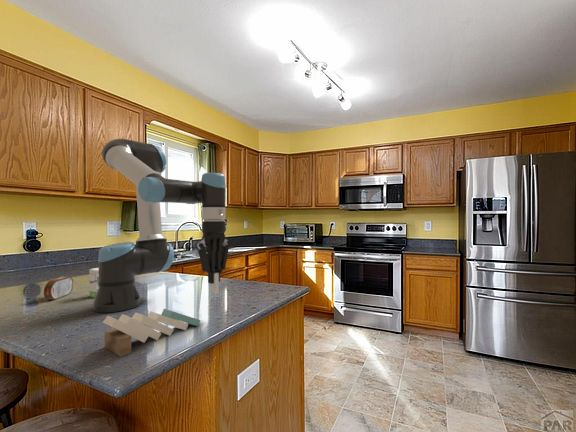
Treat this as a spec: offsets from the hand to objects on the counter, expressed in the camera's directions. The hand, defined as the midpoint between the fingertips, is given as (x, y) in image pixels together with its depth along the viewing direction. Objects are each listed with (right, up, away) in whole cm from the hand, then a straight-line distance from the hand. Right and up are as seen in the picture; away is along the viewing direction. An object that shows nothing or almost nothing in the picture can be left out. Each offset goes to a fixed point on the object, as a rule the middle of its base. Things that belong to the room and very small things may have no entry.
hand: (214, 292), depth 98 cm
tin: (-73, -10, +29) cm, 79 cm away
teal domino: (-4, -7, -7) cm, 11 cm away
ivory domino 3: (-10, -7, -14) cm, 18 cm away
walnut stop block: (-18, -8, -24) cm, 31 cm away
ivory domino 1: (-14, -7, -20) cm, 25 cm away
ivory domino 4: (-7, -7, -10) cm, 14 cm away
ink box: (-56, -9, +31) cm, 65 cm away
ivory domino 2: (-12, -7, -17) cm, 22 cm away
